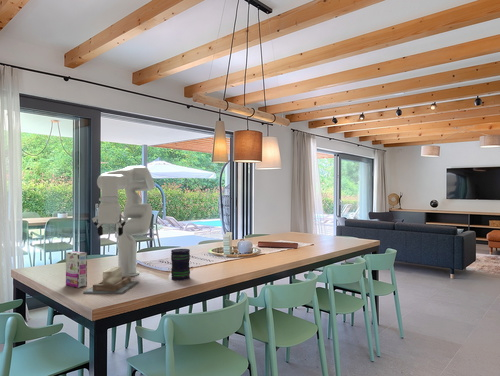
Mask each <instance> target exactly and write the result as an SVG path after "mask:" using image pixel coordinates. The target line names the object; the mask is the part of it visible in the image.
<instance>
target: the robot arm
mask: <svg viewBox="0 0 500 376" xmlns="http://www.w3.org/2000/svg"><path fill="white" fill-rule="evenodd" d="M96 185H97V187H98V189H100V190H101V191H100V192H101V196H100V197H99V198H98V201H100V203H99V204H98V205H99V206H98V214H97V215H96V216H94V217H92V219H91V220H92V222H93V225H94V226H96V228H97V234H98V237H100V236H103V235H104V232H103V231H104V228H103V225H116V233H117V240H118V241H117V243H118V244H117V245H118V248H117V251H118V252H117V253H118V254H117V256H118V259H117V260H118V262H117V263H118V266H117V267H122V277H136V276H138V275H140V271H139V270H137V268H138V265H137V242H136V240H135V237H133V236H136V235H137V236H142V235H147V234H148V233H149V230H150V225H151V222H152V218H153V217H152V215H153V208H152V205H151V204H149V203H146V202H145V203H143V200H142V197H141V196H140V195H139V193H137V192H149V191H152V190H153V189H154V187H155V183H154V179H153V176H152V174H151V171H150V170H149V169H148V168H147V167H146V166H145V165H130V166H129V165H128V166H126V167H124V168H122V169H118V170H114V171H108V172H104V173H102V174H100V175H98V177H97V180H96ZM119 190H125V195H126V202H125V205H124V209H123V213H122V207H121V204H120V202H119Z"/></svg>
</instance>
